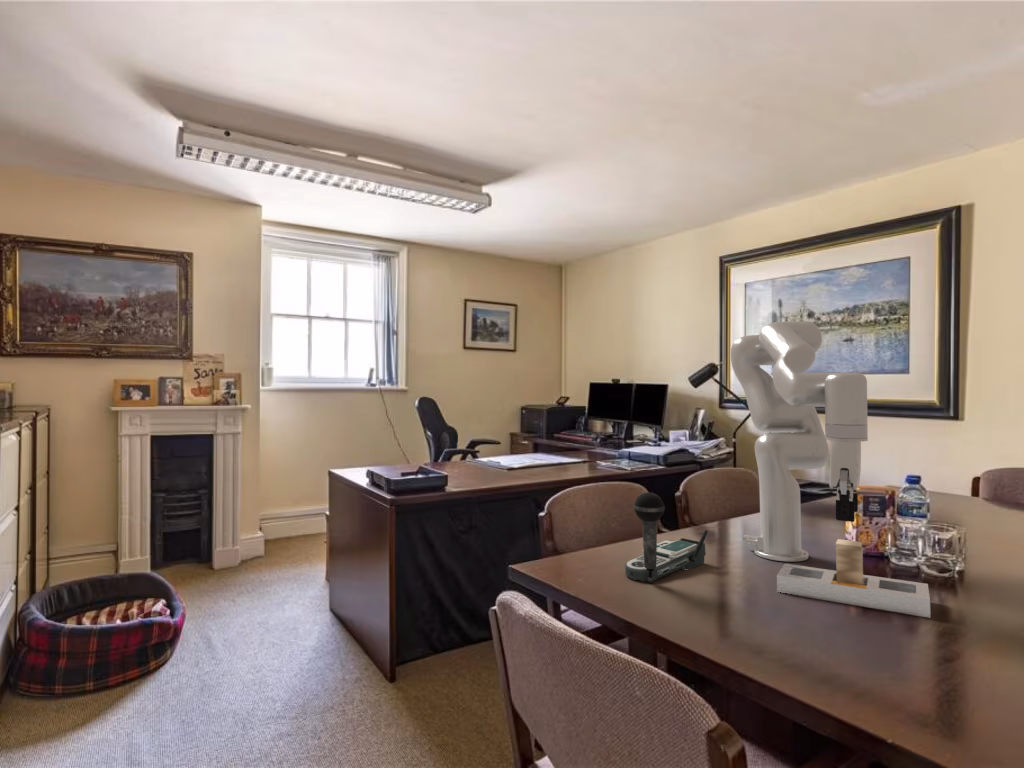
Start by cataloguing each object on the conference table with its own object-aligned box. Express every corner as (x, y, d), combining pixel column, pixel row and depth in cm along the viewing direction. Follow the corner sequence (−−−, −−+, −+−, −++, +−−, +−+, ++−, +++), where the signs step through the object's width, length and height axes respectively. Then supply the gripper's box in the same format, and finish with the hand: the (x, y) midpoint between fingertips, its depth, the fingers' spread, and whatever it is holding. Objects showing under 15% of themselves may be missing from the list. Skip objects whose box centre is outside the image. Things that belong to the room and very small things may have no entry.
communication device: (609, 575, 134) (608, 537, 134) (670, 555, 148) (669, 521, 149) (650, 588, 124) (649, 547, 124) (711, 565, 139) (710, 529, 139)
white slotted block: (777, 592, 119) (776, 574, 119) (785, 579, 128) (784, 562, 128) (930, 618, 105) (929, 597, 105) (928, 601, 113) (927, 582, 113)
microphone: (669, 580, 128) (667, 491, 128) (663, 589, 121) (661, 496, 122) (638, 576, 131) (637, 489, 131) (631, 585, 124) (629, 494, 125)
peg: (837, 598, 116) (835, 543, 116) (838, 591, 119) (837, 539, 119) (862, 602, 113) (861, 546, 113) (863, 595, 117) (862, 541, 117)
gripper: (829, 429, 126) (830, 506, 126) (820, 435, 112) (821, 522, 112) (869, 430, 122) (870, 510, 122) (865, 437, 108) (866, 527, 108)
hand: (847, 515), depth 117 cm, fingers open, 9 cm apart
